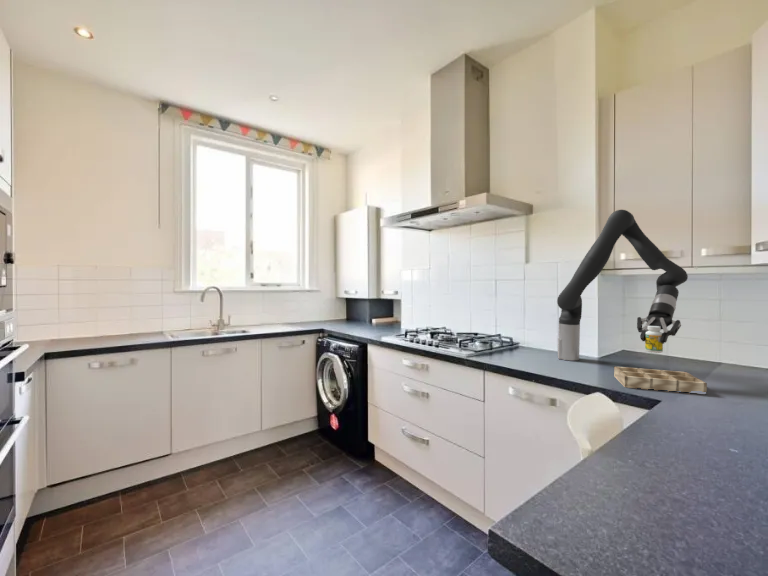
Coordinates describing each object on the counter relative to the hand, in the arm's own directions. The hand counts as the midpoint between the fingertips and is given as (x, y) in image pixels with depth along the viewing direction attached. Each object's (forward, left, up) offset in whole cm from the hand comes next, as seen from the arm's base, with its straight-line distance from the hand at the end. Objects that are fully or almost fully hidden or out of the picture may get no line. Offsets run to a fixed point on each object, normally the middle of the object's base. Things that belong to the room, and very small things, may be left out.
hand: (652, 341), depth 136 cm
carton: (+1, -2, -16) cm, 16 cm away
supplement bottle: (+1, +2, -4) cm, 5 cm away
